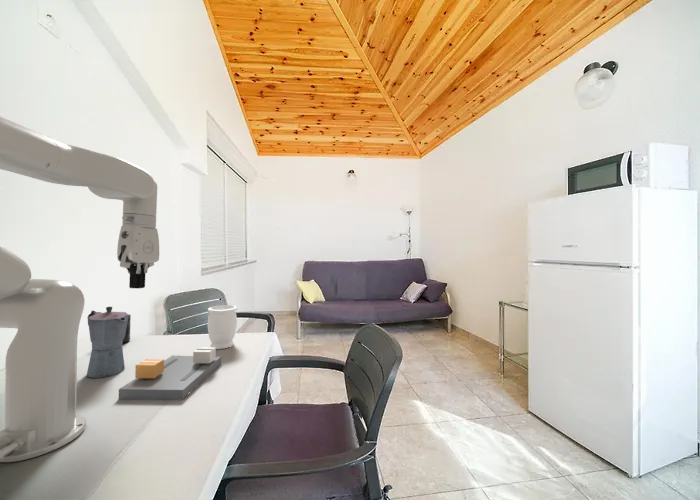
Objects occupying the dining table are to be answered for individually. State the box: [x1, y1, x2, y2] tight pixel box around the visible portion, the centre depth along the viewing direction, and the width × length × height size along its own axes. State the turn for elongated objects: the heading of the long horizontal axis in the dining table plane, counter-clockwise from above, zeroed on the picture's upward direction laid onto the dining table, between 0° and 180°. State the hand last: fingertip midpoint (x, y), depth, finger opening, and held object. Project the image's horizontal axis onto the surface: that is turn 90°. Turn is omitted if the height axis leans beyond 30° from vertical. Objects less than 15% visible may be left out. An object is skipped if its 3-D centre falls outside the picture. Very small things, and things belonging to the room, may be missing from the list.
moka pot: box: [86, 306, 130, 379], centre depth 85 cm, size 10×15×20 cm, turn 78°
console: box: [118, 355, 222, 401], centre depth 82 cm, size 22×16×3 cm
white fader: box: [192, 346, 217, 363], centre depth 88 cm, size 4×5×4 cm
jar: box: [207, 304, 238, 350], centre depth 110 cm, size 11×10×15 cm
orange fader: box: [134, 358, 165, 379], centre depth 78 cm, size 4×5×4 cm
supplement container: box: [122, 313, 132, 345], centre depth 111 cm, size 7×7×10 cm
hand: (137, 287), depth 78 cm, fingers closed
